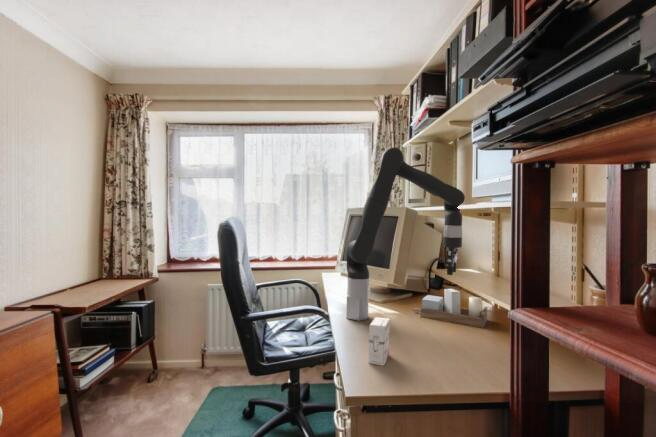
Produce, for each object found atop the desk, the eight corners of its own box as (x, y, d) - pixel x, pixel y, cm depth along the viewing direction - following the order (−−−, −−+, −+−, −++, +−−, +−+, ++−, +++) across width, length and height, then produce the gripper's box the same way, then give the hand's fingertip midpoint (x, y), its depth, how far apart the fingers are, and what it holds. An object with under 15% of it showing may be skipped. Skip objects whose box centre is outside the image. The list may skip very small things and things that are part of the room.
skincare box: (460, 320, 139) (461, 291, 139) (451, 320, 138) (452, 292, 138) (452, 315, 145) (453, 288, 145) (443, 316, 144) (444, 288, 144)
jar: (480, 324, 134) (481, 300, 134) (467, 322, 136) (468, 298, 136) (482, 321, 138) (482, 297, 138) (469, 319, 141) (470, 296, 141)
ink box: (374, 352, 106) (375, 316, 106) (389, 354, 105) (390, 318, 104) (367, 363, 98) (368, 324, 98) (384, 366, 96) (385, 326, 96)
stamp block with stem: (437, 317, 141) (438, 301, 140) (410, 313, 147) (410, 297, 147) (442, 312, 149) (443, 297, 148) (416, 308, 155) (416, 293, 155)
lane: (483, 329, 130) (484, 314, 130) (420, 317, 143) (421, 303, 143) (487, 321, 140) (487, 307, 140) (428, 310, 153) (428, 298, 153)
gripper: (446, 234, 150) (445, 270, 150) (440, 236, 137) (439, 274, 138) (464, 235, 146) (462, 272, 146) (459, 237, 134) (458, 277, 134)
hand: (451, 273), depth 142 cm, fingers open, 8 cm apart
